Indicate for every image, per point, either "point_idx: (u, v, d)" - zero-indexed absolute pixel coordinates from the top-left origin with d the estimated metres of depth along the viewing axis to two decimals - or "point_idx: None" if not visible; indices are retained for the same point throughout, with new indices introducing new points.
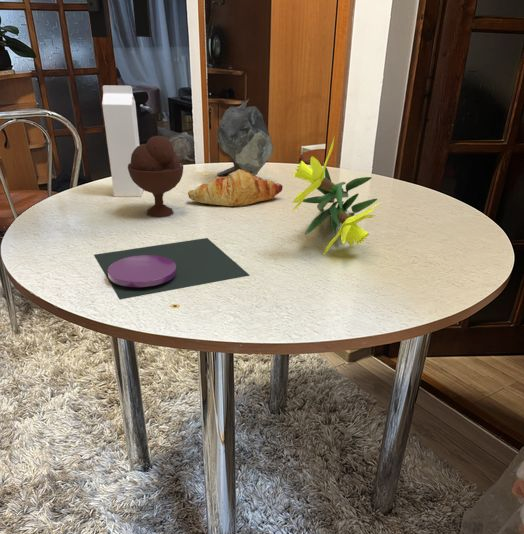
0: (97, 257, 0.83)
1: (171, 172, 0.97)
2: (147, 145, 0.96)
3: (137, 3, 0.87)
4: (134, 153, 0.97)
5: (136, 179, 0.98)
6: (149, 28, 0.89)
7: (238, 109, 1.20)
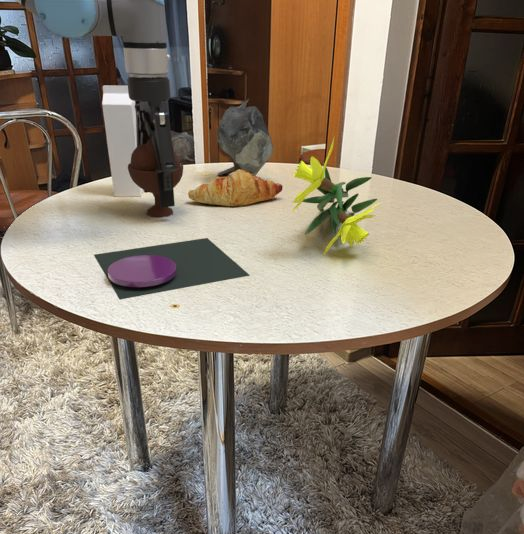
0: (97, 257, 0.83)
1: None
2: (147, 145, 0.96)
3: None
4: (134, 153, 0.97)
5: (136, 179, 0.98)
6: None
7: (238, 109, 1.20)
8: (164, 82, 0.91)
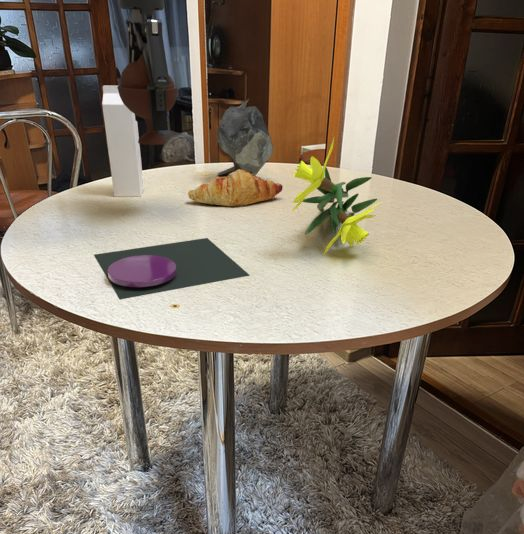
0: (97, 257, 0.83)
1: None
2: (138, 61, 0.89)
3: None
4: (124, 70, 0.89)
5: (126, 99, 0.90)
6: None
7: (238, 109, 1.20)
8: None
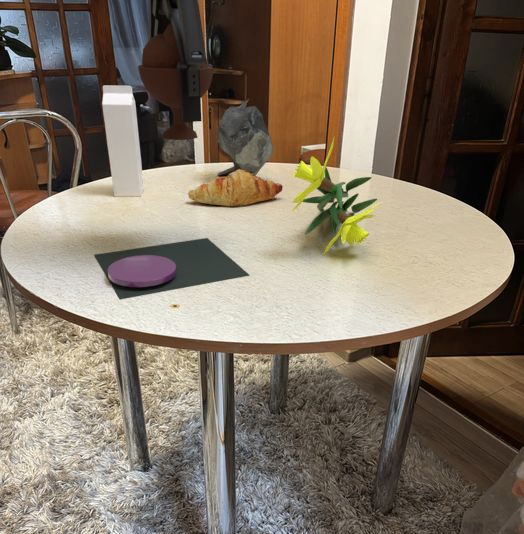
0: (97, 257, 0.83)
1: None
2: (165, 33, 0.70)
3: None
4: (147, 45, 0.70)
5: (150, 83, 0.71)
6: None
7: (238, 109, 1.20)
8: None
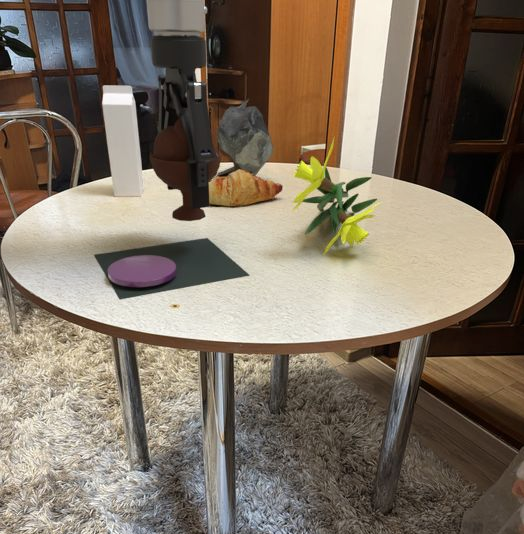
0: (97, 257, 0.83)
1: None
2: (175, 127, 0.74)
3: None
4: (158, 138, 0.74)
5: (161, 172, 0.76)
6: None
7: (238, 109, 1.20)
8: (199, 42, 0.68)
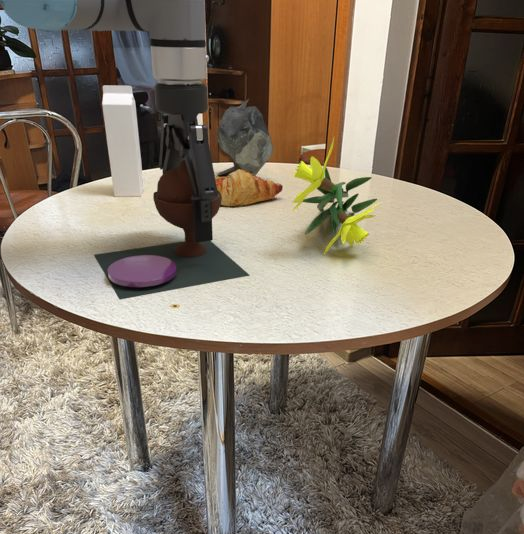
0: (97, 257, 0.83)
1: None
2: (178, 171, 0.77)
3: None
4: (162, 181, 0.78)
5: (164, 213, 0.79)
6: None
7: (238, 109, 1.20)
8: (201, 90, 0.71)
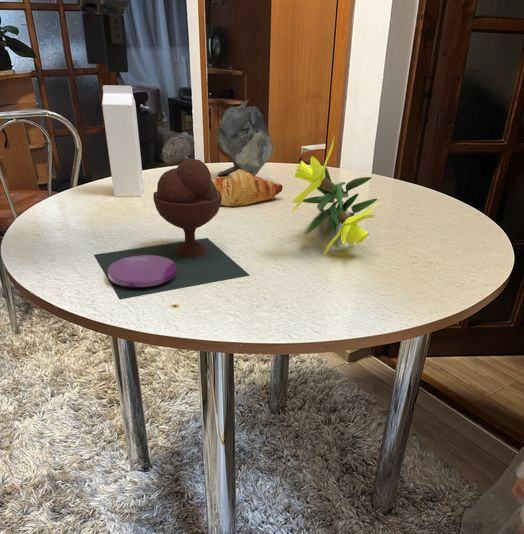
0: (97, 257, 0.83)
1: (208, 204, 0.78)
2: (178, 171, 0.77)
3: (90, 26, 0.76)
4: (162, 181, 0.78)
5: (164, 213, 0.79)
6: (104, 54, 0.79)
7: (238, 109, 1.20)
8: None
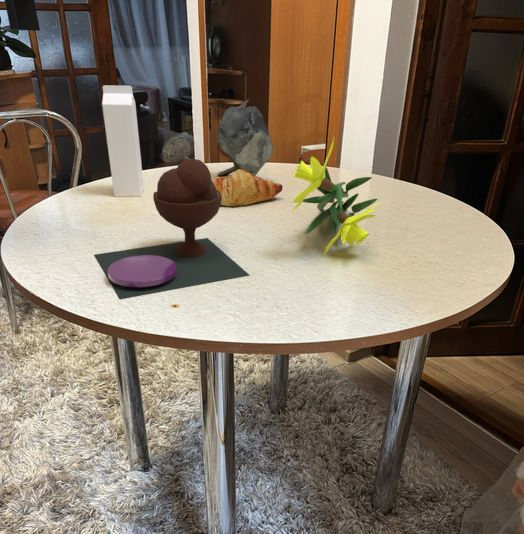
0: (97, 257, 0.83)
1: (208, 204, 0.78)
2: (178, 171, 0.77)
3: None
4: (162, 181, 0.78)
5: (164, 213, 0.79)
6: None
7: (238, 109, 1.20)
8: None
